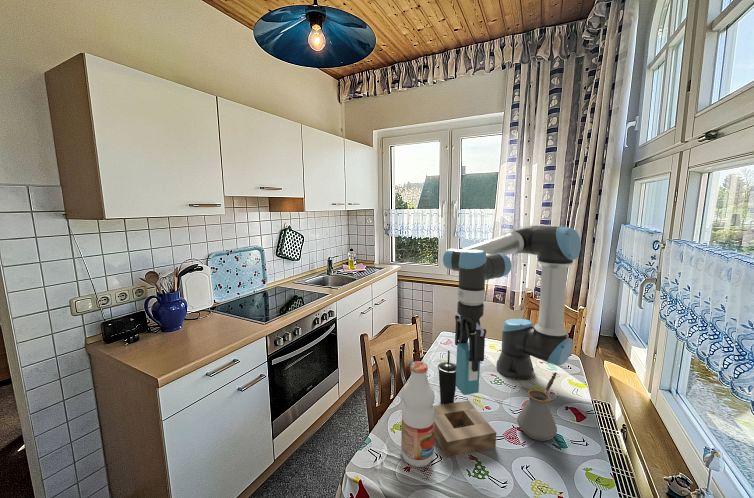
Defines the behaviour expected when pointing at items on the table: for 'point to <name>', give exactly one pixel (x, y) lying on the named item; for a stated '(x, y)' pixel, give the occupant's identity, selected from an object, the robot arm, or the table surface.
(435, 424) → the socket block
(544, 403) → the coffee pot
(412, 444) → the fruit juice
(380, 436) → the table surface
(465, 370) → the peg
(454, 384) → the drinking cup
